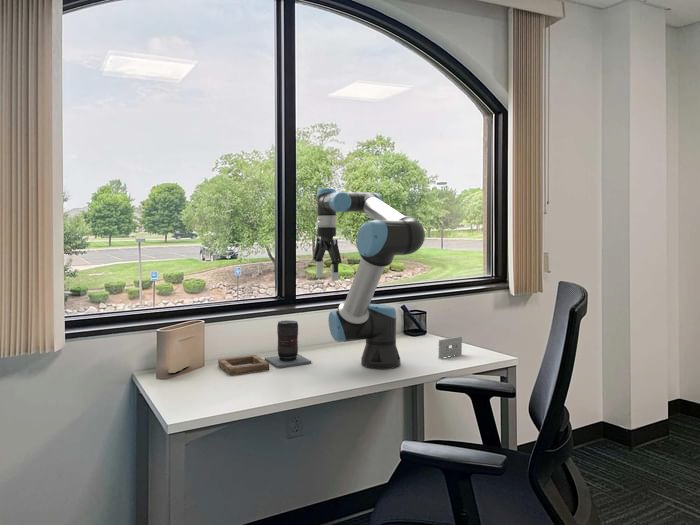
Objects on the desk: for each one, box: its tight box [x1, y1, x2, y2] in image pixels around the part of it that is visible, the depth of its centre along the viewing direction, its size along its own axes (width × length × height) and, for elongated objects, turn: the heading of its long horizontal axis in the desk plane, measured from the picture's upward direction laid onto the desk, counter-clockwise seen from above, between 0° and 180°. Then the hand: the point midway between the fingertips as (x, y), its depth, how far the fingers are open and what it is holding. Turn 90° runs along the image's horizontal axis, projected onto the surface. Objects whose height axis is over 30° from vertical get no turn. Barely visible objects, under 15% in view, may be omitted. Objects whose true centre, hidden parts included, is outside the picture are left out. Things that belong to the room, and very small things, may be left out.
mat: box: [264, 353, 312, 369], centre depth 220 cm, size 14×14×1 cm
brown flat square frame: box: [217, 354, 270, 376], centre depth 211 cm, size 15×15×2 cm
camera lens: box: [276, 320, 299, 361], centre depth 219 cm, size 8×8×15 cm
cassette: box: [438, 336, 463, 359], centre depth 228 cm, size 12×2×8 cm, turn 123°
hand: (327, 279), depth 227 cm, fingers open, 13 cm apart
